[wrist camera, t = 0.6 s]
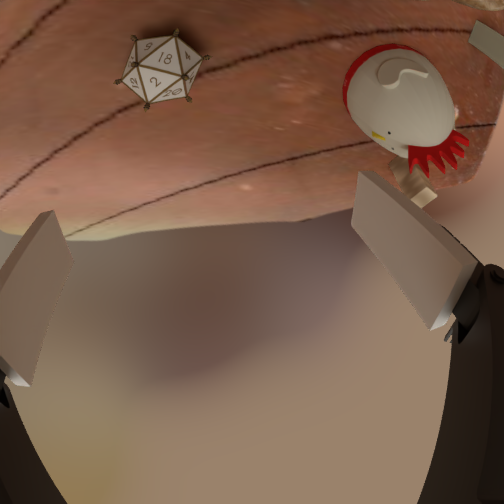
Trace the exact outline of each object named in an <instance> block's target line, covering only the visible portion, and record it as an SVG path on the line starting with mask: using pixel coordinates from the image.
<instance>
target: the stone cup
mask: <svg viewBox="0 0 504 504" xmlns="http://www.w3.org/2000/svg"><path fill="white" fill-rule="evenodd" d="M423 1H424V0H423ZM452 1H454V2H457V3H460V4H463V5H466V6H469V7H472V8H476V9H480V10H488V11H499V10H503V9H504V0H452Z"/></svg>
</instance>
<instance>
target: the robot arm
mask: <svg viewBox="0 0 504 504" xmlns="http://www.w3.org/2000/svg"><path fill="white" fill-rule="evenodd" d="M351 226H352V227H353V228H354V230H355V231H356V232H357V233H358V234H359V236H360V237H361V238H362V239H363V241H364V242H365V243H366V244H367V245H368V247H369V248H370V249H371V250H372V252H373V253H374V254H375V256H376V257H377V258H378V260H379V261H380V262H381V263H382V265H383V266H384V267H385V269H386V270H387V271H388V273H389V274H390V275H391V277H392V278H393V279H394V281H395V282H396V283H397V285H398V286H399V287H400V289H401V290H402V292H403V293H404V294H405V296H406V297H407V299H408V300H409V301H410V303H411V304H412V306H413V307H414V308H415V310H416V311H417V313H418V314H419V316H420V317H421V319H422V320H423V322H424V323H425V325H426V326H427V327H428V329H429V330H433V329H435V328H438V327H441V326H443V325H445V324H446V322H447V320H448V319H449V317H450V315H451V313H453V314H454V315H455V317H456V320H455V322H454V323H453V325H452V326H451V328H450V330H449V331H448V333H447V334H446V336H445V339H444V341H447V340H448V338H449V337H450V335H452V340H451V342H450V343H452V348H451V360H450V370H449V378H448V386H447V393H446V399H445V405H444V410H443V415H442V420H441V425H440V430H439V434H438V438H437V443H436V446H435V450H434V454H433V458H432V461H431V465H430V468H429V472H428V474H427V477H426V480H425V483H424V486H423V489H422V492H421V495H420V497H419V500H418V503H417V504H504V269H502V268H501V267H499V266H497V265H493V264H488V265H486V266H484V265H483V264H482V263H481V262H480V261H479V260H478V259H477V258H476V257H475V256H474V255H473V254H472V253H471V252H470V251H469V250H468V249H467V248H466V247H465V246H464V245H463V244H460V241H459V240H458V239H456V238H455V237H453V235H452V234H451V233H450V232H449V231H448V230H447V229H446V228H445V227H443V226H441V225H440V224H438V223H437V222H436V221H435V220H434V219H433V218H431V217H430V216H429V215H428V214H427V213H426V212H424V211H423V210H422V209H421V208H420V207H419V206H417V205H416V204H415V203H414V202H413V201H411V200H410V199H409V198H408V197H407V196H405V195H404V194H403V193H402V192H400V191H399V190H398V189H397V188H395V187H394V186H393V185H391V184H390V183H389V182H388V181H386V180H385V179H384V178H382V177H381V176H380V175H378V174H377V173H376V172H374V171H359V173H358V181H357V188H356V195H355V202H354V209H353V215H352V221H351ZM73 263H74V260H73V258H72V255H71V253H70V251H69V249H68V246H67V243H66V241H65V238H64V236H63V233H62V231H61V228H60V225H59V223H58V220H57V217H56V215H55V212H54V210H51V211H47V212H43V213H40V214H39V216H38V217H37V218H36V220H35V221H34V222H33V223H32V225H31V226H30V227H29V229H28V230H27V231H26V233H25V234H24V235H23V237H22V238H21V240H20V241H19V242H18V244H17V245H16V247H15V248H14V250H13V251H12V253H11V254H10V256H9V257H8V259H7V260H6V262H5V264H4V265H3V266H2V268H1V270H0V504H67V502H66V501H65V500H64V498H63V496H62V495H61V493H60V492H59V490H58V489H57V487H56V486H55V484H54V482H53V481H52V479H51V477H50V476H49V474H48V472H47V471H46V469H45V467H44V465H43V463H42V462H41V460H40V458H39V456H38V454H37V452H36V451H35V448H34V446H33V444H32V442H31V440H30V438H29V436H28V434H27V431H26V429H25V427H24V425H23V422H22V420H21V418H20V415H19V413H18V411H17V408H16V405H15V403H14V400H13V397H12V394H11V392H10V389H9V387H8V386H7V385H6V384H5V383H4V380H5V377H6V376H7V377H8V378H9V379H10V380H12V382H13V383H14V384H15V385H19V386H29V387H31V385H32V381H33V377H34V373H35V369H36V365H37V362H38V358H39V354H40V351H41V348H42V345H43V341H44V338H45V335H46V332H47V329H48V326H49V323H50V320H51V318H52V315H53V312H54V309H55V307H56V304H57V301H58V299H59V296H60V294H61V291H62V289H63V286H64V284H65V281H66V279H67V277H68V274H69V272H70V270H71V268H72V265H73Z"/></svg>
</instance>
